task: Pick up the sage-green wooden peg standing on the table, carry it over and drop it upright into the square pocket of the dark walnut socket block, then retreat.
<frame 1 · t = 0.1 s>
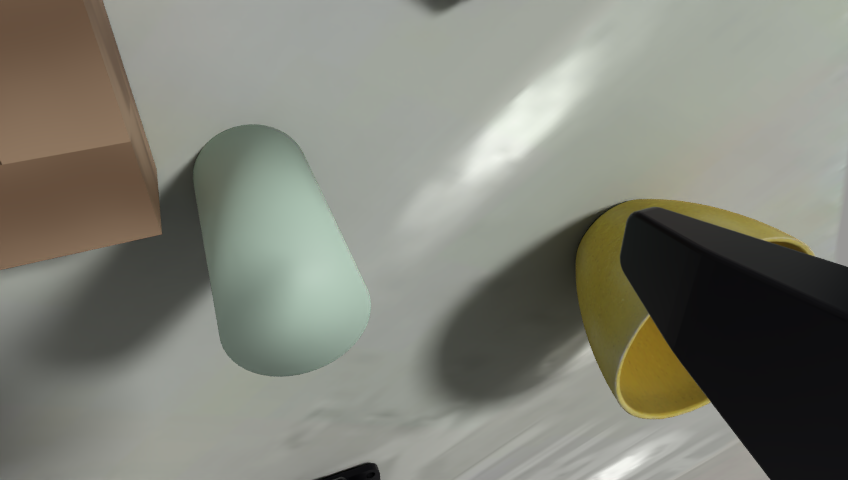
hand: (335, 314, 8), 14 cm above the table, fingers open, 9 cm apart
sage peg: (251, 176, 23), on the table
yellow bowl: (616, 240, 32), on the table
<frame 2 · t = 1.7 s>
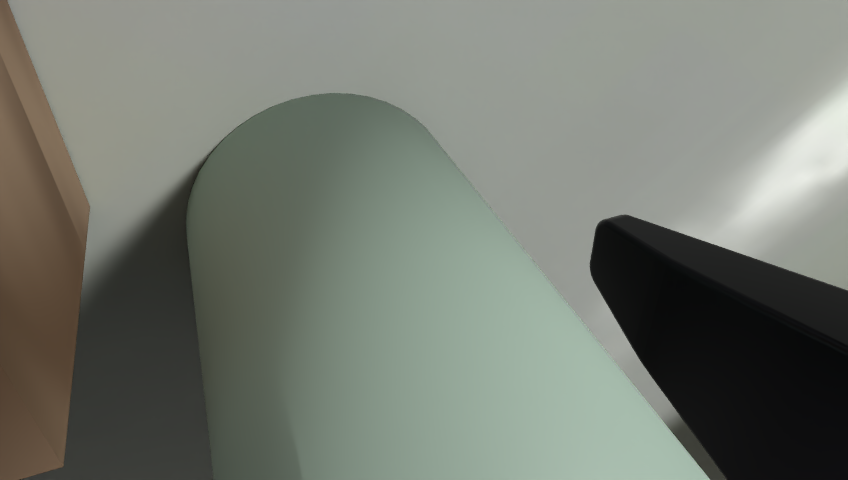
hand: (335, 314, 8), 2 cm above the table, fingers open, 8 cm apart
sage peg: (328, 220, 10), on the table
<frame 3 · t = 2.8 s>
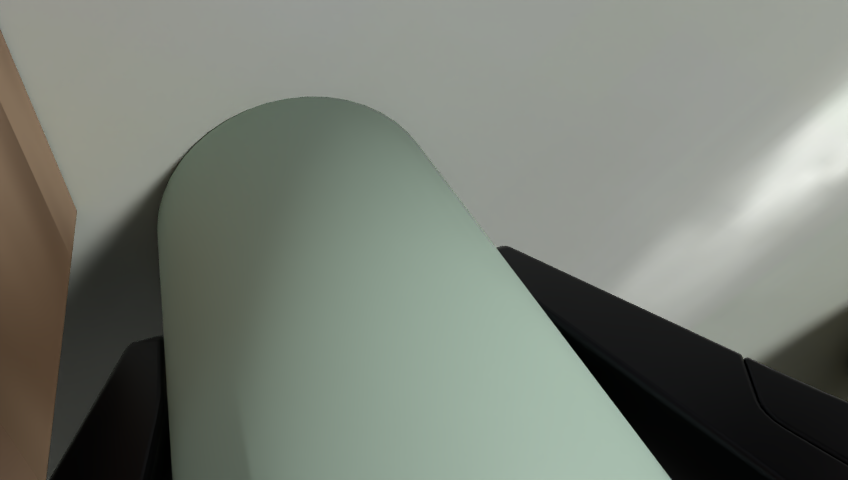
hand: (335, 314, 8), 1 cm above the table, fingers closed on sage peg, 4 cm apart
sage peg: (306, 227, 9), on the table, touching gripper
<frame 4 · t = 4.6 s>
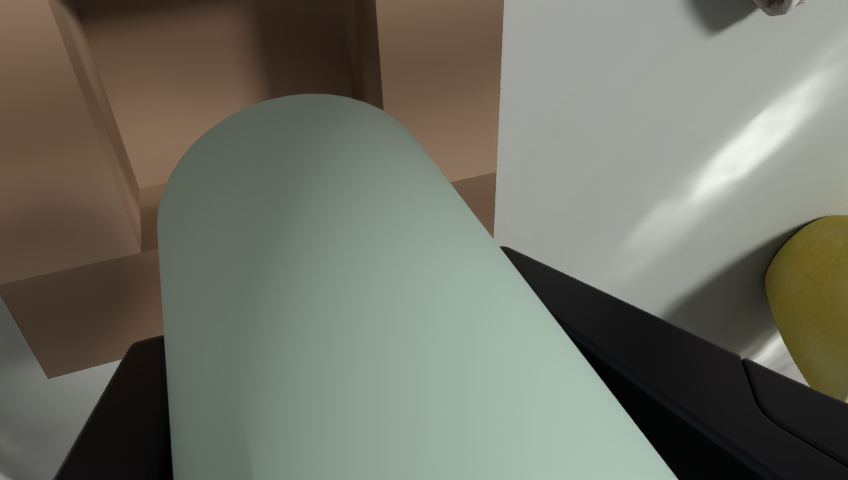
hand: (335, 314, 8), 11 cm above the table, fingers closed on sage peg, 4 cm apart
walnut socket: (225, 47, 17), on the table
sage peg: (307, 225, 9), point 10 cm above the table, touching gripper
yellow bowl: (801, 255, 33), on the table
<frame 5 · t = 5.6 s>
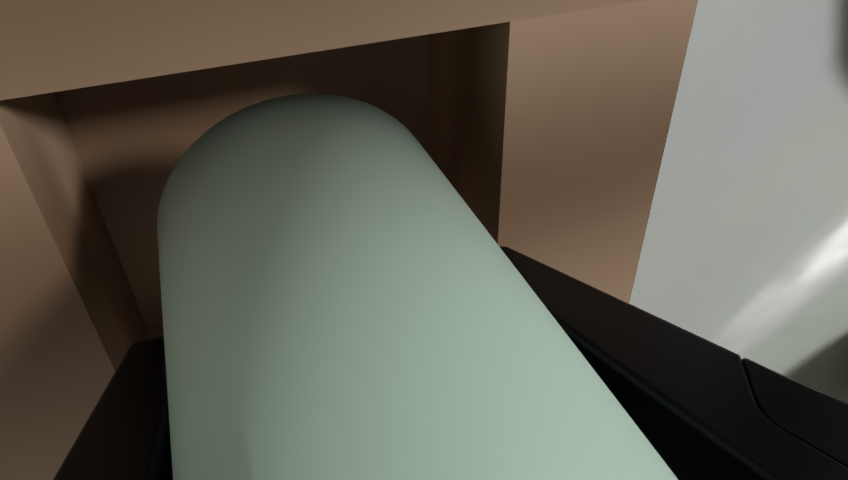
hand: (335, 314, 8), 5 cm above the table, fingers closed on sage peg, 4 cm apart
walnut socket: (265, 139, 12), on the table
sage peg: (307, 224, 9), point 4 cm above the table, touching gripper
when the fingers open (5 cm above the table, at t = 6.3 s): sage peg drops 2 cm, resting on walnut socket.
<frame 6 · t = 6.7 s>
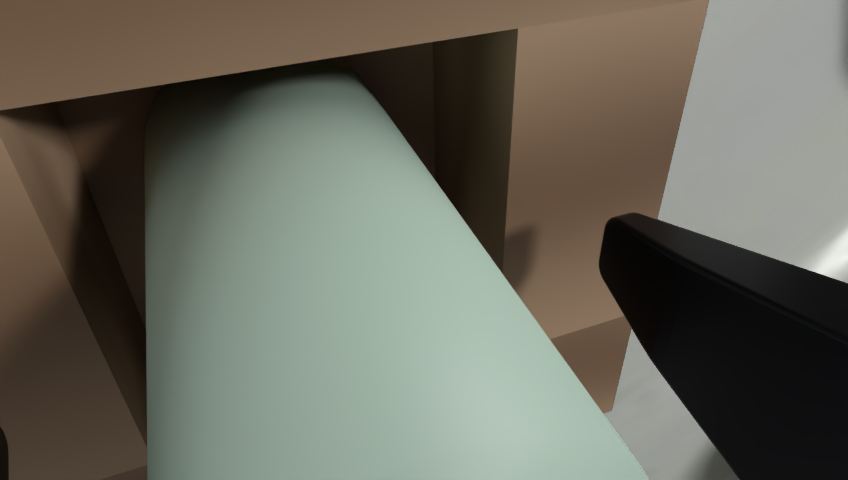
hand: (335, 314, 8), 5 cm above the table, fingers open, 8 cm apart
walnut socket: (268, 145, 12), on the table
sage peg: (270, 149, 11), point 1 cm above the table, touching walnut socket
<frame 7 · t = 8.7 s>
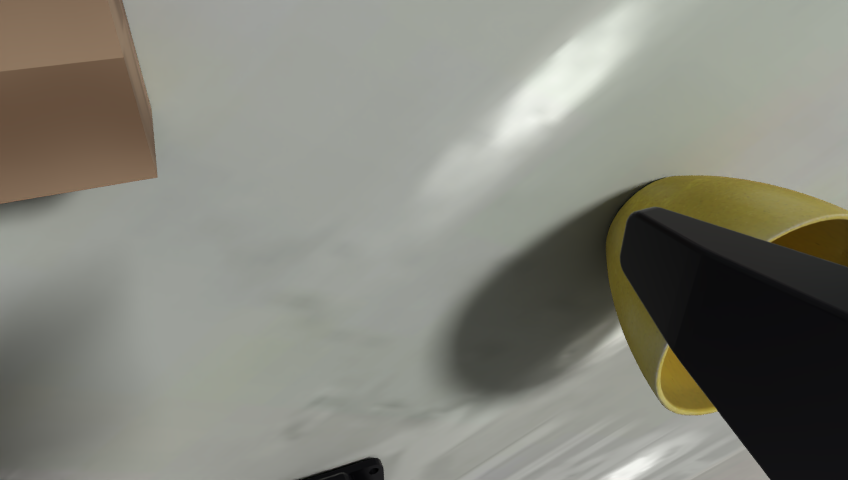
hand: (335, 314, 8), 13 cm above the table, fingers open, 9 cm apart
yellow bowl: (649, 221, 30), on the table
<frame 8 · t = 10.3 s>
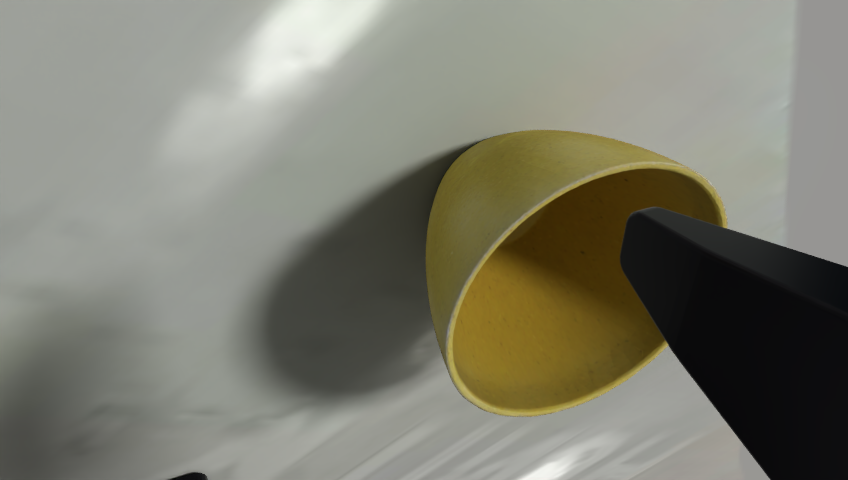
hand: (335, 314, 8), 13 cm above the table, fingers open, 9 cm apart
yellow bowl: (492, 191, 26), on the table
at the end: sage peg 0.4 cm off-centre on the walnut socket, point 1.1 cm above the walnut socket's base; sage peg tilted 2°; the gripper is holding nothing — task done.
